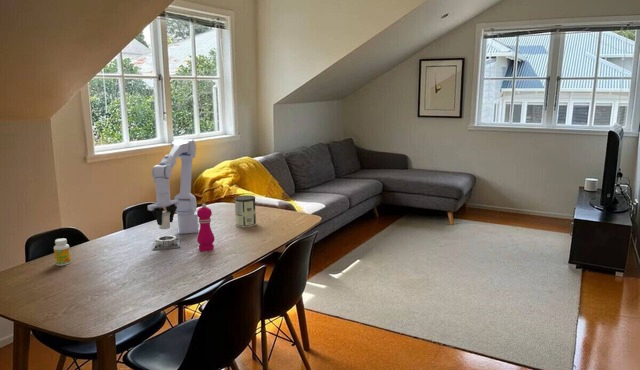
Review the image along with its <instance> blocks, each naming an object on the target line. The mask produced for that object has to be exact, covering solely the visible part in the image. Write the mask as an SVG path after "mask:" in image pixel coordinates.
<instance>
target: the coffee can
mask: <svg viewBox="0 0 640 370" xmlns="http://www.w3.org/2000/svg"><path fill="white" fill-rule="evenodd" d="M234 210H235V211H234V212H235V226H236V227H238V228H251V227H255V226H256V225H257V218H256V213H257V212H256V196H254V195H248V194H247V195H238V196H235V197H234Z"/></svg>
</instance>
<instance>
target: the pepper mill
mask: <svg viewBox="0 0 640 370" xmlns="http://www.w3.org/2000/svg"><path fill="white" fill-rule="evenodd" d="M196 211H197V212H196V213H197V216H198V224H199V230H198V234H197V237H196V242H197V243H198V250H199V252H211V251H213V250H214V249H215V245H214V242H215V240H216V239H215V235H214V233H213V231H212V228H211V221H212V219H211V216H212V215H213V212H212V209H211V208H210V207H207V204H206V203H202V204H201V207H200V208H199V209H198V210H196Z"/></svg>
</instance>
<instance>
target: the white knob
mask: <svg viewBox="0 0 640 370" xmlns="http://www.w3.org/2000/svg"><path fill="white" fill-rule="evenodd" d="M158 227H159V229H160V230H168V229H171V222H170V211H167V210H163V212H162V225H158Z"/></svg>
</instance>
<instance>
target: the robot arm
mask: <svg viewBox="0 0 640 370" xmlns="http://www.w3.org/2000/svg"><path fill="white" fill-rule="evenodd" d="M196 152H197V144H196V142H195V140H194V139H175V138H174V139H173V140H172V142H171V150H170V152H169V153H168V154H165V155H164V156H163V157H162V159H161V160H160V162H159V163H158V164H155V165H154V166H153V167H152V170H151V176H152V178H153V183H155V196H156V199H155V200H156V202H155V203H152V204H148V205H147V211H150V212H151V213H152V214H153V215H154V218H155V220H156V223H157V225H158V226H159V225H162V212H163V211H164V210H162V208H165V209H166V210H165V211H170V223H173V220H174V216H175V214H176V215H177V222H178V223H177V227H178V228H177V235H182V234H193V233H199V229H200V223H199V217H198V216H197V212H196V211H197V208H198V207H197V206H198V205H197V198H196V196H195V195H194V194H193V193H191V191H192V176H193V175H192V173H193V159H194V158H196V155H197V153H196ZM178 158H179V159H180V160H181V166H180V185H179V186H180V187H179V193H178V194H176V195H175V196H174V199H171V187H170V178H171V176H172V172H173V168H174V167H175V165H176V163H177V160H176V159H178Z"/></svg>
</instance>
